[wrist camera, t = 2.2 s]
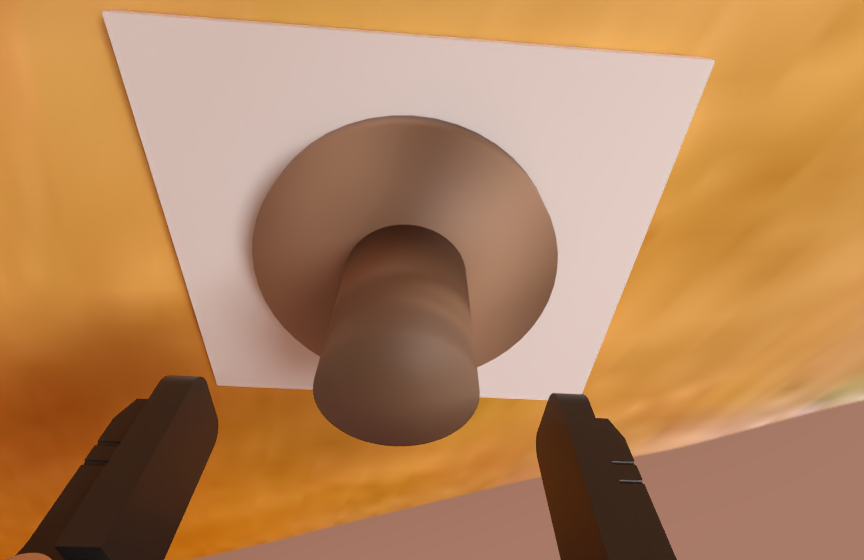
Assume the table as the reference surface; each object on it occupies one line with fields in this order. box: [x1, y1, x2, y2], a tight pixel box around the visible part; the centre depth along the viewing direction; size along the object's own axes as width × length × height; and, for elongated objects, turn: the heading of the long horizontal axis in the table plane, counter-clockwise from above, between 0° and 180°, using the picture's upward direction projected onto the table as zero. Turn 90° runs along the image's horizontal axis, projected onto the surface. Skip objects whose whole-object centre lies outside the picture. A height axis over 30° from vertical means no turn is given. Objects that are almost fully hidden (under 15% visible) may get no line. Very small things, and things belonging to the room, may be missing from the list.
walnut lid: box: [252, 115, 558, 446], centre depth 13 cm, size 10×10×6 cm
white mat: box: [102, 10, 715, 400], centre depth 16 cm, size 16×14×1 cm
